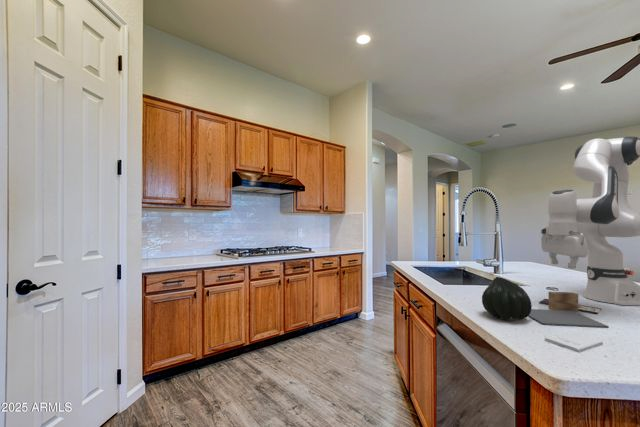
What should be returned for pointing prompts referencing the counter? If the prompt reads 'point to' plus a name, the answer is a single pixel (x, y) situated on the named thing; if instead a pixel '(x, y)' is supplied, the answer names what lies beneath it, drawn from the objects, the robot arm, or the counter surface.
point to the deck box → (563, 301)
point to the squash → (506, 300)
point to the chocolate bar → (580, 307)
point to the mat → (563, 318)
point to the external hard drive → (574, 341)
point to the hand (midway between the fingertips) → (562, 266)
